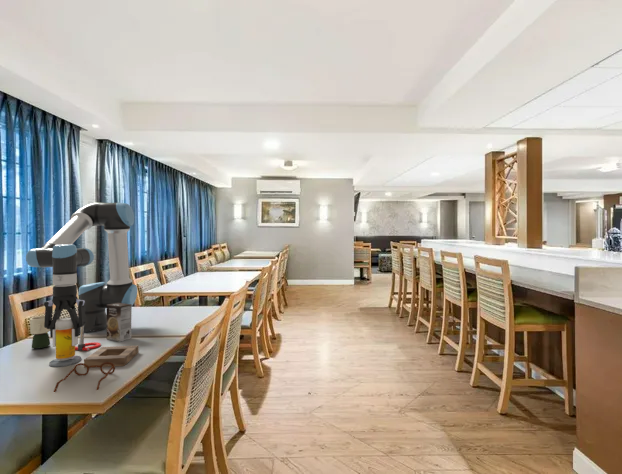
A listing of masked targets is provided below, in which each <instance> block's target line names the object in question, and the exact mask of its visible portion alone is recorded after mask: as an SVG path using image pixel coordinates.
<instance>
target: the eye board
mask: <svg viewBox="0 0 622 474" xmlns="http://www.w3.org/2000/svg"><path fill="white" fill-rule="evenodd" d="M139 351H140V349H139V345H117V346H102V347H101V346H100V348H98V349H97V350H96V351H94V352H93V353H91V354H90V355H88V356H87V357H86V358H84V359H83V363H84V364H86V365H88V366H92V365H99V366H101V364H103V363H105V362H111V363H113V364H114V366H115V367H125V366H126V365H127V364H128V363H130V362H131V361H132V360H133V359H134V358H135V357H136V356H137V355H138V354H139ZM108 367H109V368H111V367H112V365H110V364H104V365H103V366H102V368H108ZM83 368H84V369H87V368H86V367H85V366H83Z"/></svg>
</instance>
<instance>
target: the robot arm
mask: <svg viewBox="0 0 622 474" xmlns="http://www.w3.org/2000/svg"><path fill="white" fill-rule="evenodd" d="M134 223H135V214H134V210H133V208H132V206H131V205H130V204H128V203H125V202H93V203H89V204H87V205H84V206H83V207H80V208H79V209H78V210H76V211H75V212H74V213H72V215H71V216H70V220H69V221H68V222H66V224H65V225H64V226H62V228H60V229H59V230H58V231H57V232H56V233H55V234H54V235H53V236H52V237H51V238H50V239H49V240H48V241H46V243H45V244H44V245H43V246H41V247H40V248H31V249H29V250H28V251H27V252H26V256H25V261H26V262H27V265H28V266H29V267H31V268H52V285H53V286H52V296H53V297H52V299H51V300H47V301H44V302H43V305H44V308H45V309H44V316H45V322H44V327H45V328H49V329H50V331H49V338H52V347H54V348H56V337H55V323H56V321H57V319H60V318H61V315H62V311H64V310H65V311H67V312H68V314H69V317H71V320H72V323H73V326H74V328H73V329H72V346H78V344H79V337H80V328H81V327H82V326H84V333H91V332H97V331H102V330H105V329H106V330H107V311H106V309H107V306H106V305H108V304H113V303H125V304H132V306H133V305H134V304H135V302H136V300H137V297H138V295H137V294H138V286H137V284H135V283H134V284H133V279H131V278H130V271H129V269H130V268H129V249H128V232H129V231H130V230H131V227H132V226H133V225H134ZM96 226H98V227H100V226H102V227H103V231H105V232H106V233H107V243H108V244H107V245H108V247H107V248H108V263H109V265H108V266H109V280H108V281H107V282H105V281H100V282H93V283H87V284H83V285H81V286H80V287H79V288H78V285H77V283H78V277H77V275H78V273H77V269H78V268H81V267H82V268H83V267H87V266H89V265H91V264H92V263H93V261H94V259H95V255H94V252H93V251H92V250H91V249H89V248H86V247H85V248H84V247H79V248H78V247H77V246H76V245H75V244H74V243H75V242H76V240H78V239H79V237H80V236H81V235H83V233H84V232H85V231H87V230H90V229H91V228H92V227H96ZM76 305H77V309H76ZM54 306H55V308H54ZM53 310H54V313H53Z"/></svg>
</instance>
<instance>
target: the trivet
mask: <svg viewBox="0 0 622 474" xmlns="http://www.w3.org/2000/svg"><path fill="white" fill-rule="evenodd" d="M81 361H82V357H81V356H80V355H74V357H73V358H71V359H68V360H62V361H60V360H57V359H56V358H55V359H52V360H50V361H49V363H48V365H49V367H52V368H60V367H62V368H63V367H67V366H71V365H72V366H73V365H74V364H75V365H76V364H78V363H79V362H81Z"/></svg>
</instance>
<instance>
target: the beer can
mask: <svg viewBox="0 0 622 474" xmlns="http://www.w3.org/2000/svg"><path fill="white" fill-rule="evenodd" d="M73 328H74V326H73V323H72V320H71V317H70V316H69V317H62V318H61V317H60V318H59V319H57V321H56V323H55V337H56V346H55V359H57V360H60V361H62V360H68V359H71V358H73V357H74V356H76V350H75V346H76V345H75V346H72V329H73Z"/></svg>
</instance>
